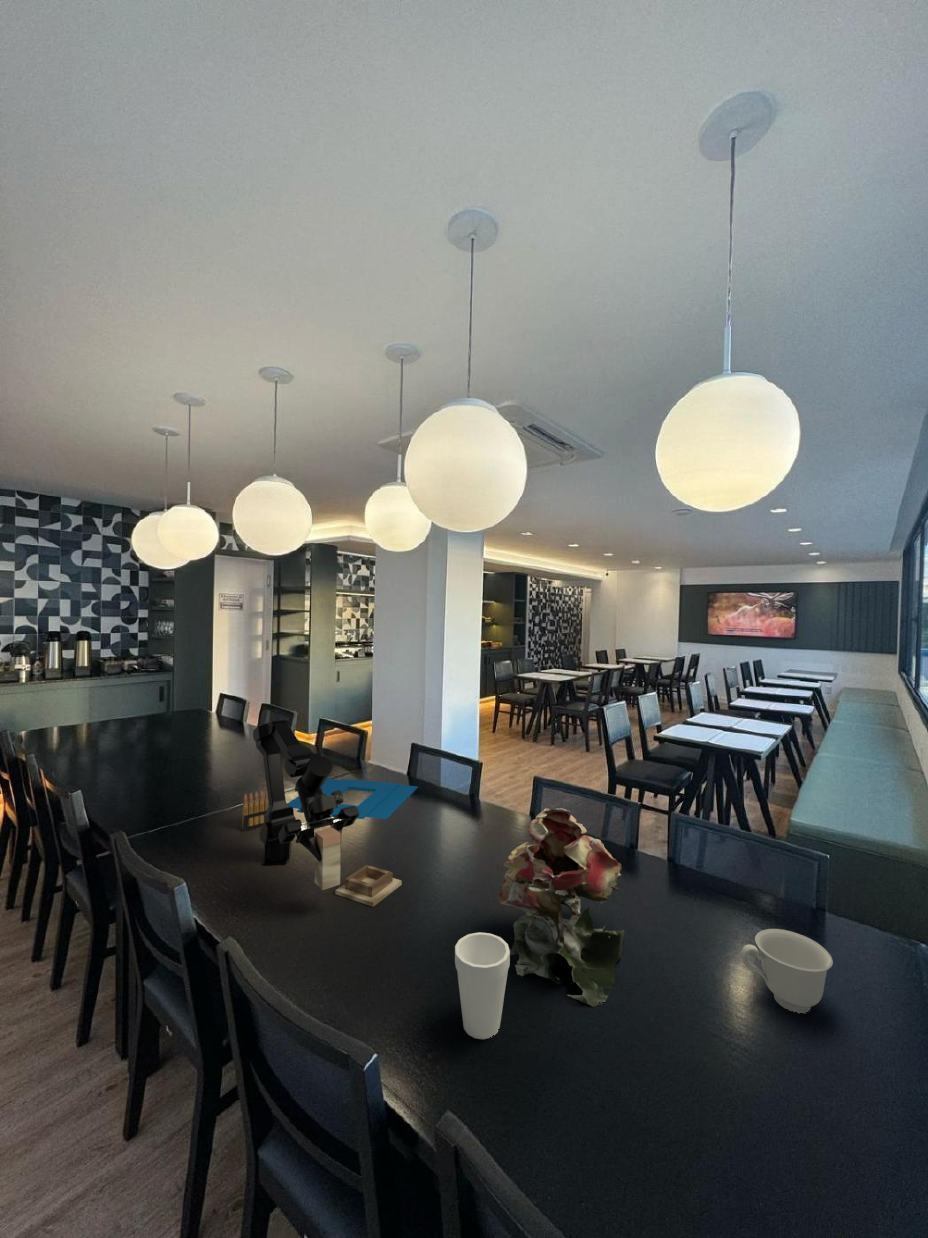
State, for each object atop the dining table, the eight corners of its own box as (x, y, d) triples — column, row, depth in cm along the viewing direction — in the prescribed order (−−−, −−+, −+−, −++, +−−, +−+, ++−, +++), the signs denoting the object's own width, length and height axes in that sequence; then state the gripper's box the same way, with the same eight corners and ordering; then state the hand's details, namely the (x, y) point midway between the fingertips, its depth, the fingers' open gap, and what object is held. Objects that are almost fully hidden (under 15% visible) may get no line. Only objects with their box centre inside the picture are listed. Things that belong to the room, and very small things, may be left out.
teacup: (728, 975, 101) (728, 925, 101) (808, 982, 100) (808, 930, 100) (756, 1023, 89) (757, 966, 89) (847, 1031, 88) (848, 973, 88)
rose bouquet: (627, 926, 117) (629, 795, 117) (610, 1016, 91) (611, 846, 91) (520, 900, 128) (521, 780, 128) (475, 975, 101) (477, 822, 101)
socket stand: (335, 894, 130) (335, 880, 130) (365, 873, 140) (365, 860, 140) (373, 907, 124) (373, 892, 124) (401, 884, 135) (401, 871, 135)
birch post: (314, 882, 122) (315, 832, 122) (332, 876, 125) (332, 827, 125) (322, 890, 118) (323, 838, 118) (340, 884, 121) (340, 833, 121)
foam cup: (452, 1005, 93) (453, 933, 93) (503, 1002, 94) (504, 931, 94) (456, 1049, 83) (457, 969, 83) (512, 1045, 84) (513, 966, 84)
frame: (417, 789, 212) (417, 784, 212) (384, 825, 177) (384, 819, 177) (326, 781, 222) (326, 776, 222) (277, 814, 186) (277, 808, 186)
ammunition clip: (242, 831, 167) (243, 795, 167) (241, 830, 168) (241, 793, 168) (275, 823, 174) (276, 788, 174) (273, 821, 175) (274, 786, 175)
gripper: (283, 788, 119) (301, 853, 110) (356, 773, 130) (377, 831, 122) (271, 812, 125) (287, 875, 116) (342, 796, 137) (361, 852, 128)
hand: (330, 857), depth 120 cm, fingers closed on birch post, 4 cm apart
